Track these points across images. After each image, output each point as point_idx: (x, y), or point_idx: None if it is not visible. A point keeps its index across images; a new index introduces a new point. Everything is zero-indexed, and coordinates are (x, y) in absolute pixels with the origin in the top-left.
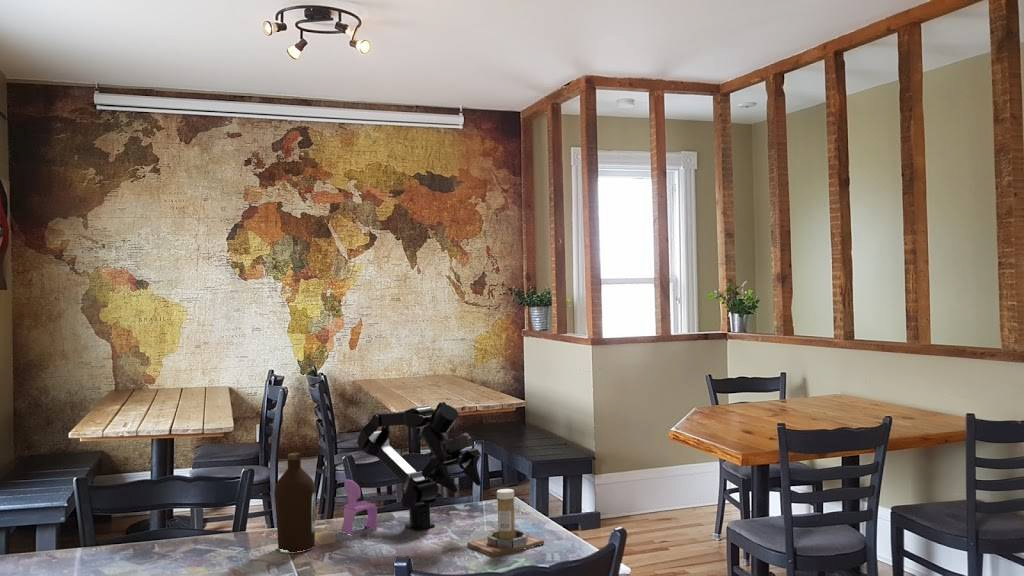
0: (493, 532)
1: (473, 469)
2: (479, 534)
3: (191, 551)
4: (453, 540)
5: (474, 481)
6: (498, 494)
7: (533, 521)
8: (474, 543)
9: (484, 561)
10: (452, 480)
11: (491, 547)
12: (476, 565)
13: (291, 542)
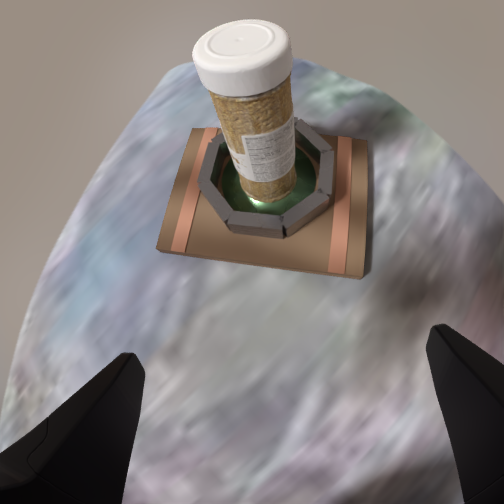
0: (278, 218)
1: (56, 463)
2: (231, 357)
3: None
4: (345, 374)
5: (131, 421)
6: (291, 49)
7: (50, 310)
8: (353, 248)
9: (400, 143)
10: (490, 383)
11: (342, 174)
12: (429, 139)
13: None
